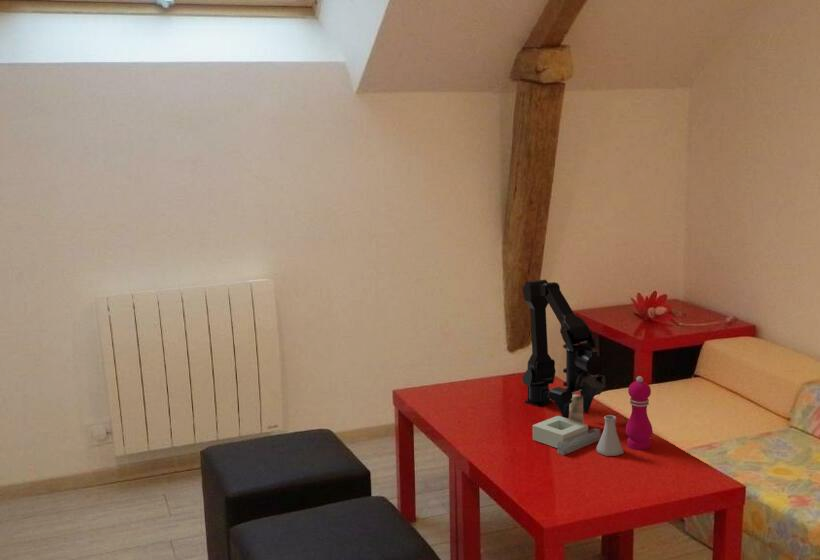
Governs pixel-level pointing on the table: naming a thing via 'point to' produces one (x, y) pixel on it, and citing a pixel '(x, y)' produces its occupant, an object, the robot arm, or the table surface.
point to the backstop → (578, 441)
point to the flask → (609, 439)
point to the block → (557, 430)
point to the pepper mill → (639, 416)
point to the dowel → (576, 408)
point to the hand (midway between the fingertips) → (576, 416)
